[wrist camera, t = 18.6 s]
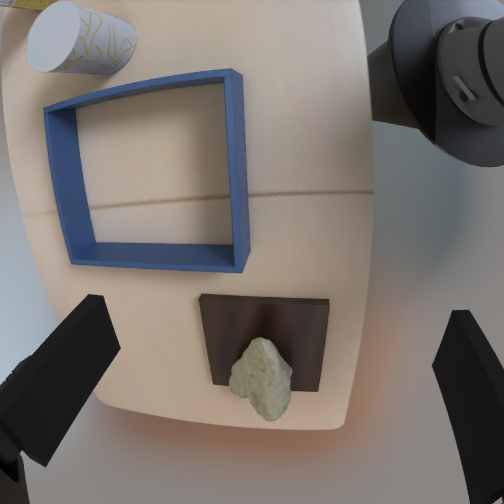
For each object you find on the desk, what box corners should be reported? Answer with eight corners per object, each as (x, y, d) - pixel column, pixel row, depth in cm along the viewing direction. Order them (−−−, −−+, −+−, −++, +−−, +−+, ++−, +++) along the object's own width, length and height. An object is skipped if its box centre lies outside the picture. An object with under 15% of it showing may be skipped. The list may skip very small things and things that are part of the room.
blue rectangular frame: (242, 74, 32) (231, 68, 27) (250, 251, 42) (242, 273, 36) (70, 104, 36) (43, 107, 31) (92, 246, 46) (71, 264, 40)
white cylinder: (118, 82, 34) (58, 81, 24) (78, 63, 33) (17, 61, 23) (147, 28, 31) (93, 8, 20) (103, 13, 30) (46, -4, 19)
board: (328, 299, 43) (329, 305, 42) (318, 385, 51) (318, 391, 49) (201, 293, 46) (198, 299, 44) (215, 378, 53) (213, 384, 52)
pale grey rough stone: (271, 390, 53) (331, 411, 41) (238, 410, 50) (292, 440, 37) (244, 313, 53) (302, 317, 40) (205, 331, 49) (256, 342, 36)
